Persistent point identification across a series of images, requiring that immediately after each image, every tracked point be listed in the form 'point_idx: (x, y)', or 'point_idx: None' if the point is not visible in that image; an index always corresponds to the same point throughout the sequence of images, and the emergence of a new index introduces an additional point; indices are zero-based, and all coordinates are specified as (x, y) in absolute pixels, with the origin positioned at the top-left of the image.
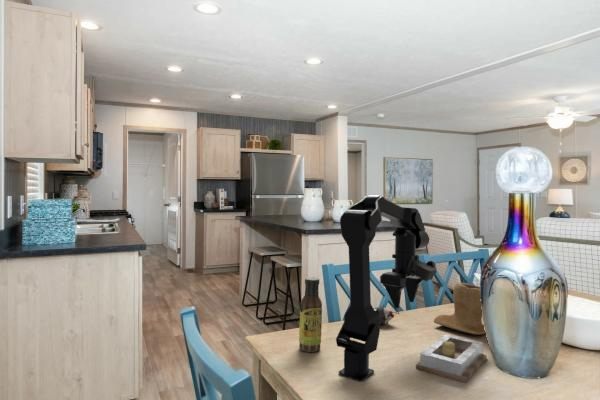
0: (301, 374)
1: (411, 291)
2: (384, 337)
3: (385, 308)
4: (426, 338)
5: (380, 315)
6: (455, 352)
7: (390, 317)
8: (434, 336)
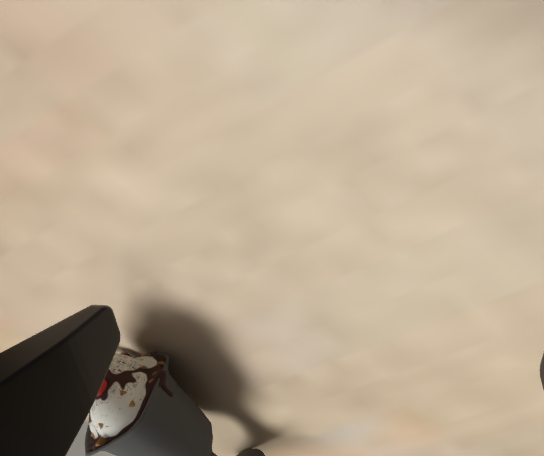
0: None
1: (11, 445)
2: (311, 286)
3: (107, 427)
4: (131, 103)
5: (163, 407)
6: None
7: (116, 364)
8: (61, 82)
